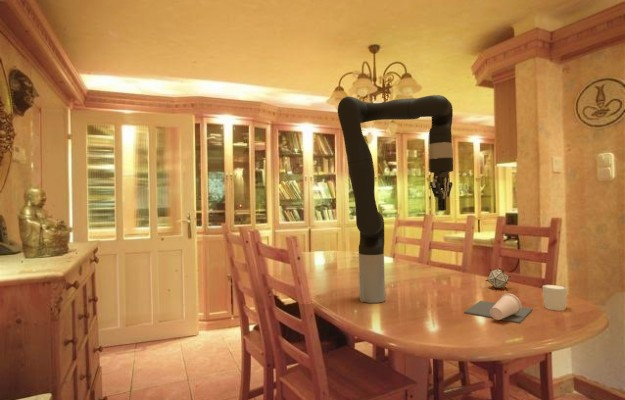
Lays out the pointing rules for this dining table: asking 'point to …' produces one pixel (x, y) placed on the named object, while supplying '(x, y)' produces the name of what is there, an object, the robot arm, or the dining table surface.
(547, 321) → the dining table surface
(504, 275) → the game die
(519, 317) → the mat
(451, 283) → the dining table surface
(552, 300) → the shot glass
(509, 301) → the smoothie
